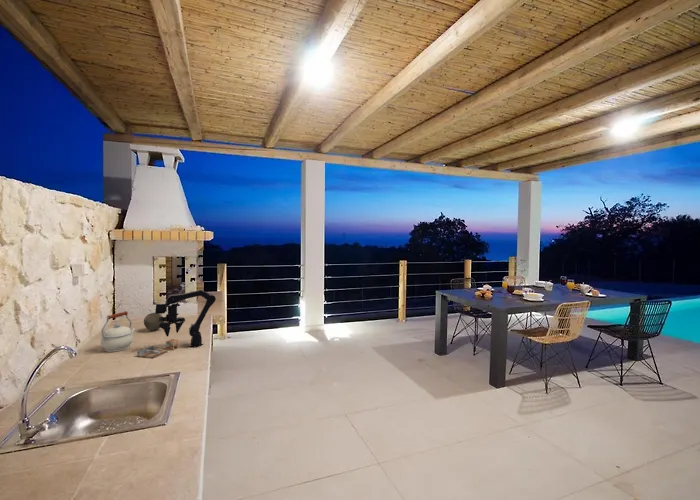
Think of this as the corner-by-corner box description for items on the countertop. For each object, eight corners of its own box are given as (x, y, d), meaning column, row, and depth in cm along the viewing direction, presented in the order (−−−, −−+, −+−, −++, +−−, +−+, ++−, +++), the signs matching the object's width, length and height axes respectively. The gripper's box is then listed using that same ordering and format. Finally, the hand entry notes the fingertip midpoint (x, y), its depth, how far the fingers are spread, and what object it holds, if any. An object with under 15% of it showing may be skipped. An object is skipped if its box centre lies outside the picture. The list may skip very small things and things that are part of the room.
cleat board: (167, 352, 218) (167, 347, 218) (153, 358, 205) (153, 353, 205) (152, 350, 220) (152, 345, 220) (137, 356, 208) (137, 351, 208)
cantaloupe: (145, 329, 269) (145, 311, 269) (164, 327, 275) (164, 310, 275) (142, 333, 256) (142, 315, 256) (162, 332, 262) (162, 314, 262)
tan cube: (178, 347, 226) (178, 339, 226) (173, 350, 221) (173, 341, 221) (171, 347, 227) (171, 338, 227) (165, 349, 222) (165, 341, 222)
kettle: (113, 355, 209) (113, 317, 209) (91, 352, 213) (91, 315, 212) (145, 343, 234) (145, 310, 233) (124, 341, 237) (124, 308, 237)
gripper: (172, 309, 234) (172, 329, 235) (152, 314, 216) (152, 337, 217) (185, 310, 232) (185, 331, 233) (166, 315, 214) (166, 338, 214)
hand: (172, 334), depth 224 cm, fingers open, 9 cm apart
